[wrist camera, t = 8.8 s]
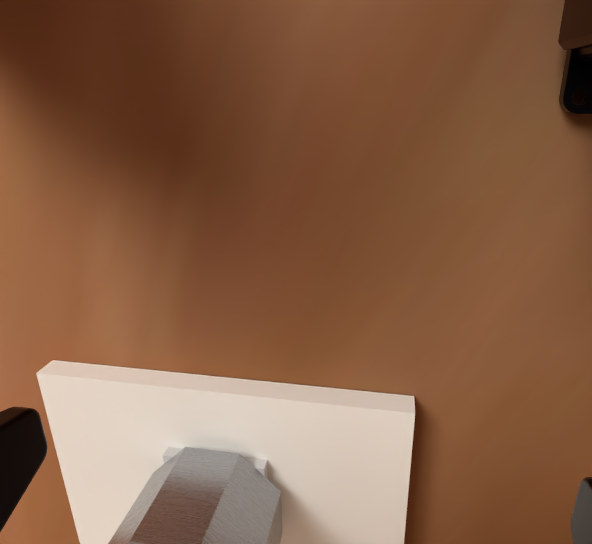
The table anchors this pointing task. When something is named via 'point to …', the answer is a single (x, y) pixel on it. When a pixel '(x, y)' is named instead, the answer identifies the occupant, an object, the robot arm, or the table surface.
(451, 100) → the table surface
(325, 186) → the table surface
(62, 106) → the table surface
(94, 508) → the shaft stand
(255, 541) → the tube
